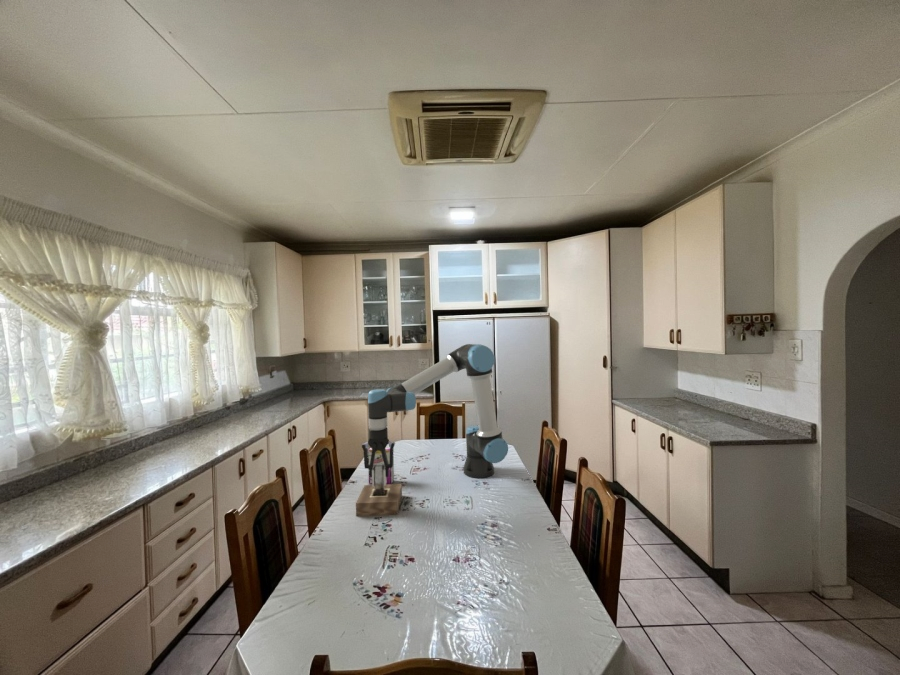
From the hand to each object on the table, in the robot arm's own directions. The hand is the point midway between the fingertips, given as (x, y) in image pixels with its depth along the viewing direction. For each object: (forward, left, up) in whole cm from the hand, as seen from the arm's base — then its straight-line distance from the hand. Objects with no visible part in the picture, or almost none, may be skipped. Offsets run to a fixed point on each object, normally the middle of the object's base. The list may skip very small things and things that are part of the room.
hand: (379, 484), depth 145 cm
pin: (0, 0, -4) cm, 4 cm away
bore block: (0, 0, -9) cm, 9 cm away
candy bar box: (+3, -22, -9) cm, 24 cm away
